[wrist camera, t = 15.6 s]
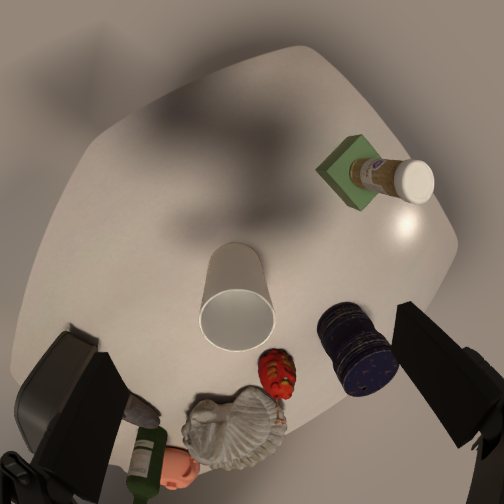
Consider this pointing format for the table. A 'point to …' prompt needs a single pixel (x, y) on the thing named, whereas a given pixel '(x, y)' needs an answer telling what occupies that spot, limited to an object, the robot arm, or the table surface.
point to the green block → (348, 171)
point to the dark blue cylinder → (356, 349)
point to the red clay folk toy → (277, 376)
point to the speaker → (50, 386)
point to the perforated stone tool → (140, 414)
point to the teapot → (178, 469)
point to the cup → (236, 300)
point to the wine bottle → (146, 464)
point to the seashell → (234, 431)
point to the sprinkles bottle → (394, 178)
